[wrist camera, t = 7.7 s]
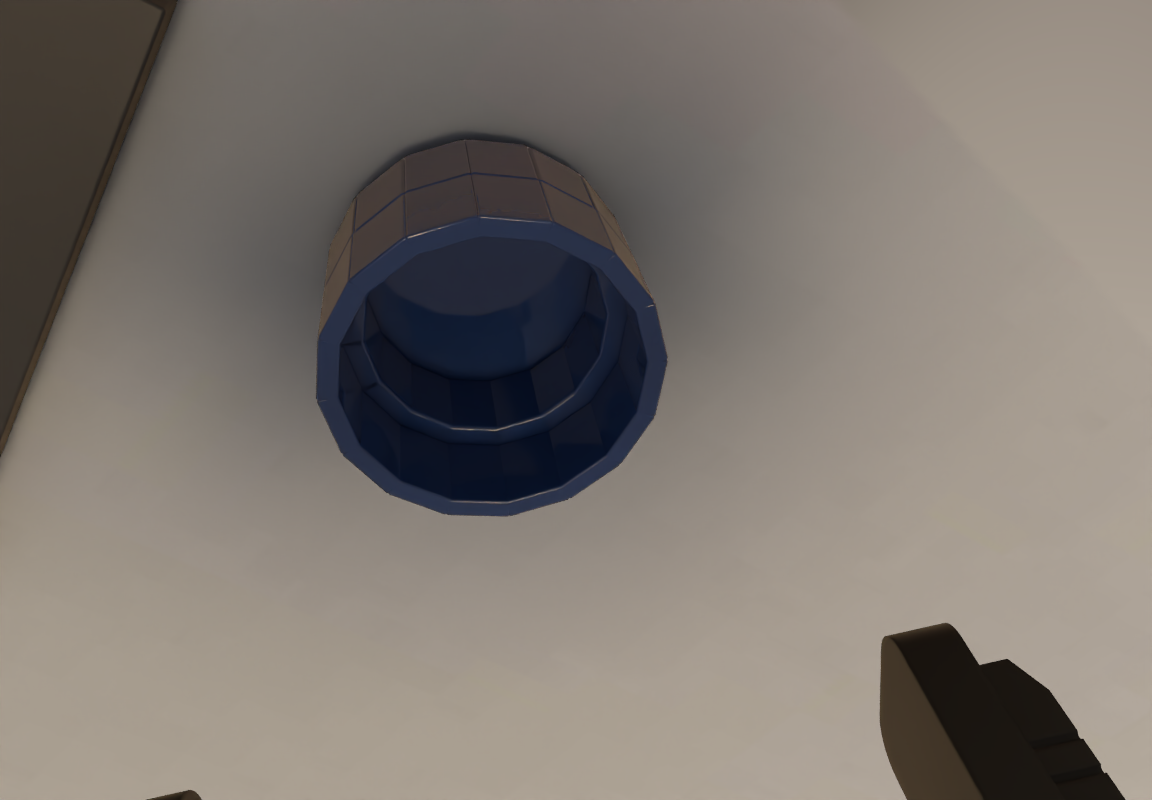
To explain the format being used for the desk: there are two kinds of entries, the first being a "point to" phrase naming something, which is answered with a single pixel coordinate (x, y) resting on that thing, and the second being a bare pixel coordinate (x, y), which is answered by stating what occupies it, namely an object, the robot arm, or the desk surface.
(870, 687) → the desk surface
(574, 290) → the bowl
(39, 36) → the scale
